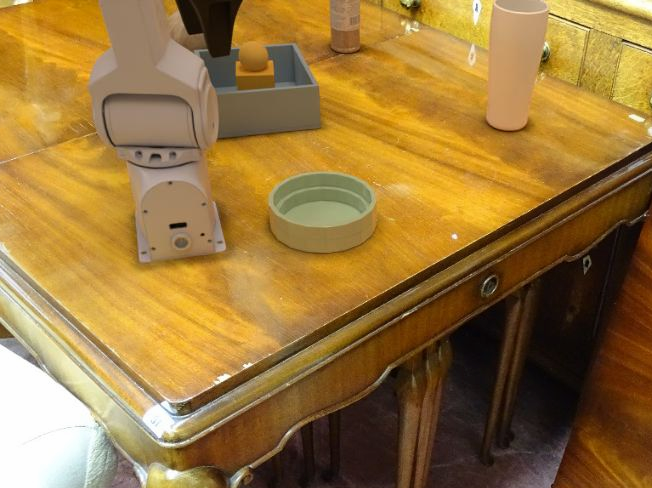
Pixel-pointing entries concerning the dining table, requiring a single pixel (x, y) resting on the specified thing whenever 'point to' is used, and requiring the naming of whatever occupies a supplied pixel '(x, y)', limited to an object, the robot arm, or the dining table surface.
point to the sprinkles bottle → (345, 25)
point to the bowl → (322, 211)
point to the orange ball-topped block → (254, 68)
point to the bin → (265, 94)
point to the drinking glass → (514, 60)
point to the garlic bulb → (184, 34)
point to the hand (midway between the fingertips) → (208, 44)
